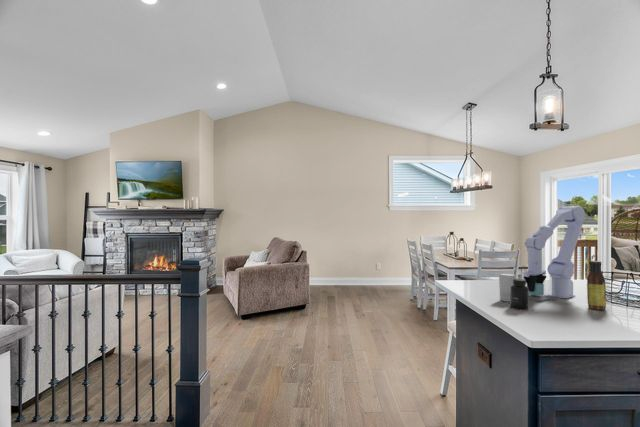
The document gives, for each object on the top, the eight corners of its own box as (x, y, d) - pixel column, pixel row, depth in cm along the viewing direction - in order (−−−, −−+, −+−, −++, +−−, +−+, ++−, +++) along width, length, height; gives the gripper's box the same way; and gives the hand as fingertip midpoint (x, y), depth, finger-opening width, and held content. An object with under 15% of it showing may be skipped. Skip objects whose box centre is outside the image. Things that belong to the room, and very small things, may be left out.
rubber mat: (530, 294, 181) (530, 292, 181) (555, 299, 171) (555, 297, 171) (515, 297, 176) (515, 294, 176) (540, 302, 165) (540, 300, 165)
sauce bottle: (609, 311, 150) (609, 262, 150) (592, 310, 151) (591, 262, 151) (600, 307, 156) (600, 260, 156) (584, 306, 158) (583, 260, 158)
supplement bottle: (510, 308, 155) (510, 280, 155) (510, 305, 161) (510, 277, 161) (528, 310, 151) (528, 281, 151) (528, 306, 157) (528, 278, 157)
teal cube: (533, 292, 177) (533, 282, 176) (543, 294, 172) (543, 283, 172) (526, 293, 174) (526, 283, 174) (537, 295, 170) (537, 284, 170)
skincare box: (517, 301, 167) (516, 274, 167) (512, 302, 164) (512, 275, 164) (503, 298, 172) (503, 273, 172) (498, 300, 169) (498, 274, 169)
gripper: (535, 260, 180) (535, 287, 180) (517, 262, 173) (517, 290, 173) (550, 261, 174) (550, 290, 174) (532, 264, 167) (532, 293, 167)
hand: (534, 290), depth 173 cm, fingers closed on teal cube, 5 cm apart
